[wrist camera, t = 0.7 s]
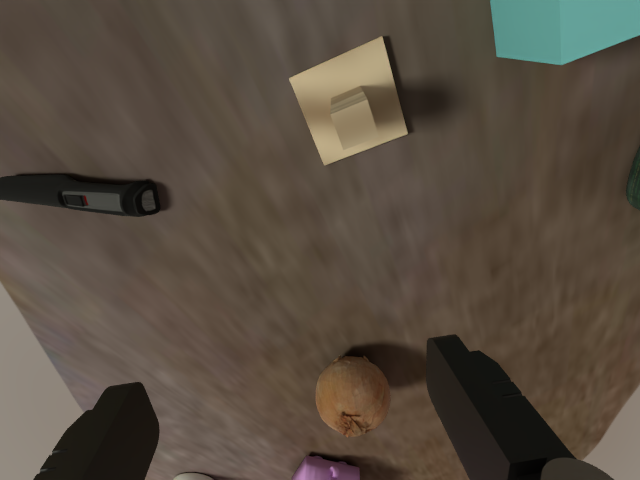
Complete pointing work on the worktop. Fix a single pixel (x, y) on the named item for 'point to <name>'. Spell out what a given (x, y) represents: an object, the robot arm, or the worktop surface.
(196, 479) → the fruit juice
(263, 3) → the worktop surface
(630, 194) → the coffee jar
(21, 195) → the electric trimmer
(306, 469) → the teapot
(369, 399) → the onion
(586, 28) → the teal tower prism
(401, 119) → the post
